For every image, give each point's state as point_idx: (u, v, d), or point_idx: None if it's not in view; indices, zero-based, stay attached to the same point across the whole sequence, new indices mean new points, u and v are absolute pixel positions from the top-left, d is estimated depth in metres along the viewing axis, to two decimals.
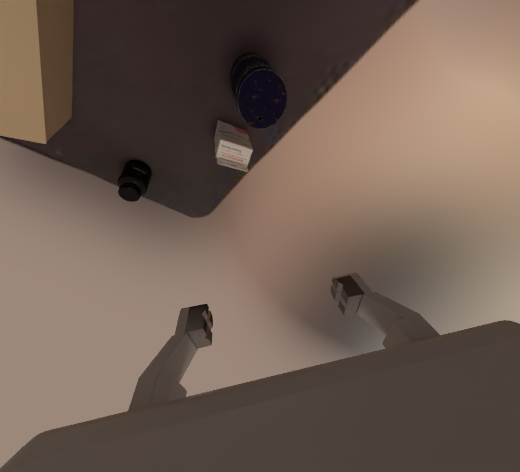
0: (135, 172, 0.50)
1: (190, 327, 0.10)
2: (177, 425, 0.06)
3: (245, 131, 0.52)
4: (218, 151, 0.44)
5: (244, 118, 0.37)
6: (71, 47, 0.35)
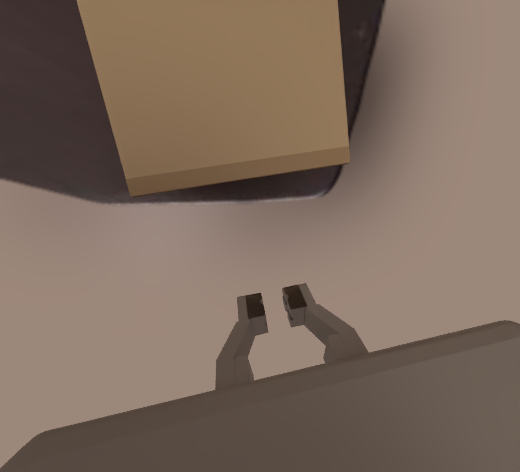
0: None
1: (252, 313, 0.10)
2: (177, 425, 0.06)
3: None
4: None
5: None
6: None
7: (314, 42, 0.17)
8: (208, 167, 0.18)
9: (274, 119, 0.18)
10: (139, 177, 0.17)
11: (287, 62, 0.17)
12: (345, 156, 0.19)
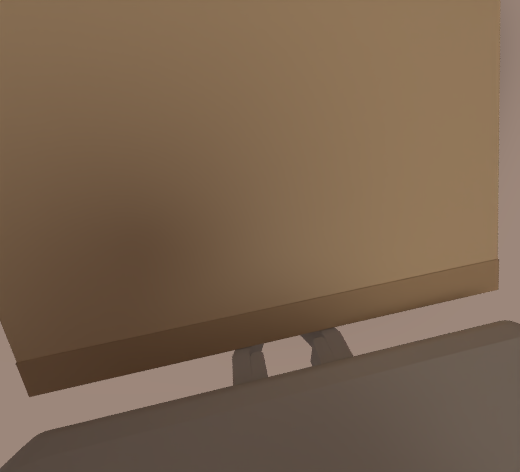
0: None
1: None
2: (177, 425, 0.06)
3: None
4: None
5: None
6: None
7: (445, 49, 0.08)
8: (206, 320, 0.08)
9: (351, 216, 0.08)
10: (50, 355, 0.08)
11: (384, 95, 0.08)
12: (489, 279, 0.09)
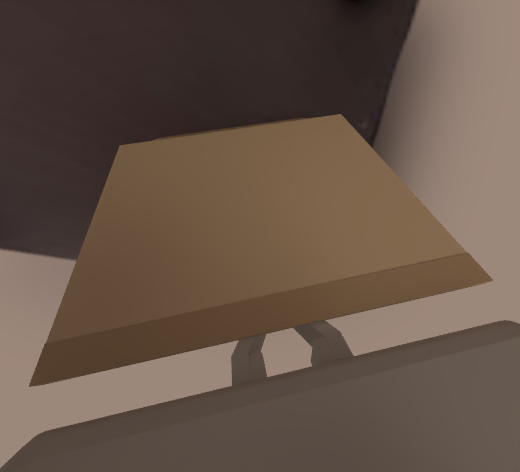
0: None
1: None
2: (177, 425, 0.06)
3: None
4: None
5: None
6: (209, 131, 0.28)
7: (348, 157, 0.15)
8: (210, 308, 0.09)
9: (320, 227, 0.11)
10: (73, 338, 0.09)
11: (321, 174, 0.14)
12: (474, 270, 0.10)
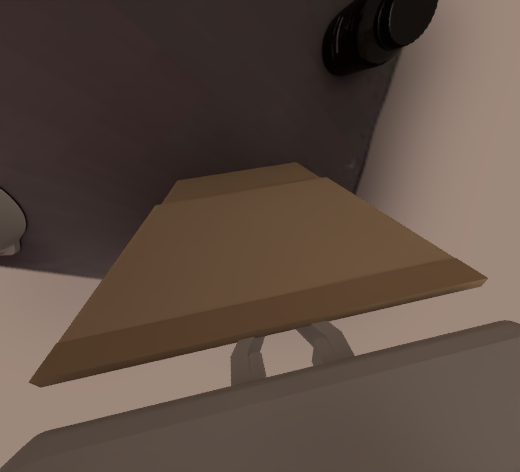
0: (345, 36, 0.21)
1: None
2: (177, 425, 0.06)
3: None
4: None
5: None
6: (219, 175, 0.33)
7: (334, 201, 0.18)
8: (211, 311, 0.10)
9: (313, 246, 0.13)
10: (83, 338, 0.09)
11: (313, 212, 0.17)
12: (466, 271, 0.10)
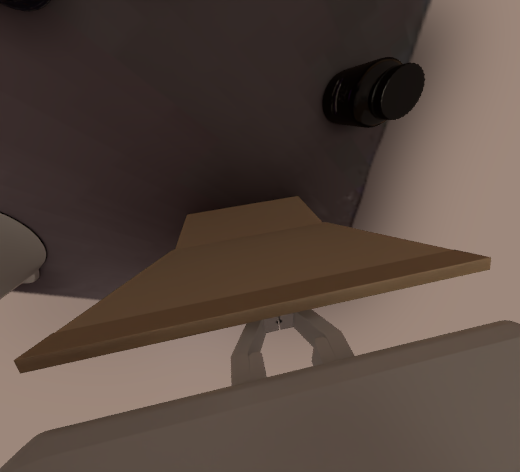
0: (343, 102, 0.24)
1: None
2: (177, 425, 0.06)
3: None
4: None
5: None
6: (226, 209, 0.35)
7: (332, 232, 0.20)
8: (209, 302, 0.10)
9: (312, 257, 0.14)
10: (79, 328, 0.09)
11: (313, 239, 0.18)
12: (466, 255, 0.10)
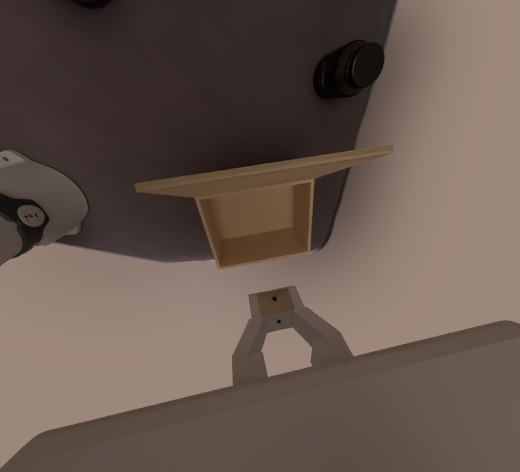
0: (327, 76, 0.30)
1: (265, 311, 0.10)
2: (177, 425, 0.06)
3: None
4: None
5: None
6: None
7: None
8: None
9: None
10: None
11: None
12: None
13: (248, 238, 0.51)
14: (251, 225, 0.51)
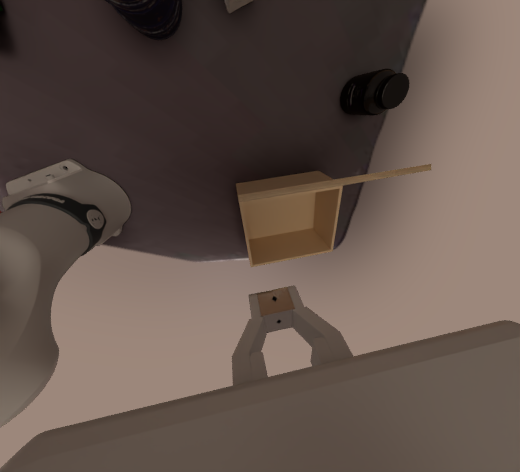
0: (356, 97, 0.35)
1: (265, 311, 0.10)
2: (177, 425, 0.06)
3: None
4: None
5: None
6: (265, 179, 0.47)
7: None
8: None
9: None
10: None
11: None
12: None
13: (273, 238, 0.55)
14: (275, 226, 0.55)
